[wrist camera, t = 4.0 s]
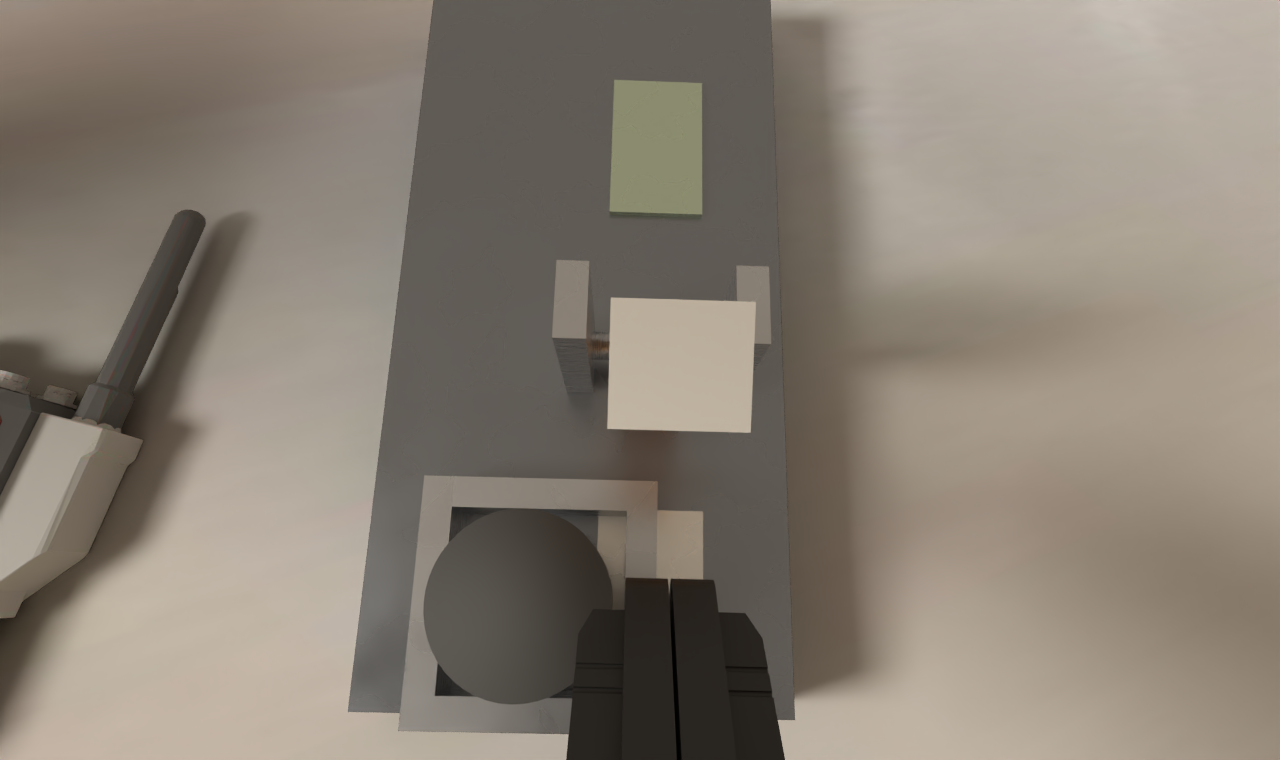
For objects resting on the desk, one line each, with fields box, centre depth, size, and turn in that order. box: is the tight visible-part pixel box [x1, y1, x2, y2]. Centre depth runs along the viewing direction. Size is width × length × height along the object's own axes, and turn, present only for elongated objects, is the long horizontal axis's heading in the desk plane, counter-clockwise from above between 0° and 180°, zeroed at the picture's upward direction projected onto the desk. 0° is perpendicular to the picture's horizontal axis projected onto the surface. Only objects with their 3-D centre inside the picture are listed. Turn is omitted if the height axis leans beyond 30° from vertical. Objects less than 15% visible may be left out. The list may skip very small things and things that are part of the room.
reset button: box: [423, 508, 613, 705], centre depth 17 cm, size 4×4×3 cm
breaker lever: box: [607, 297, 756, 433], centre depth 16 cm, size 2×2×9 cm
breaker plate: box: [348, 0, 795, 734], centre depth 22 cm, size 12×25×8 cm, turn 179°
